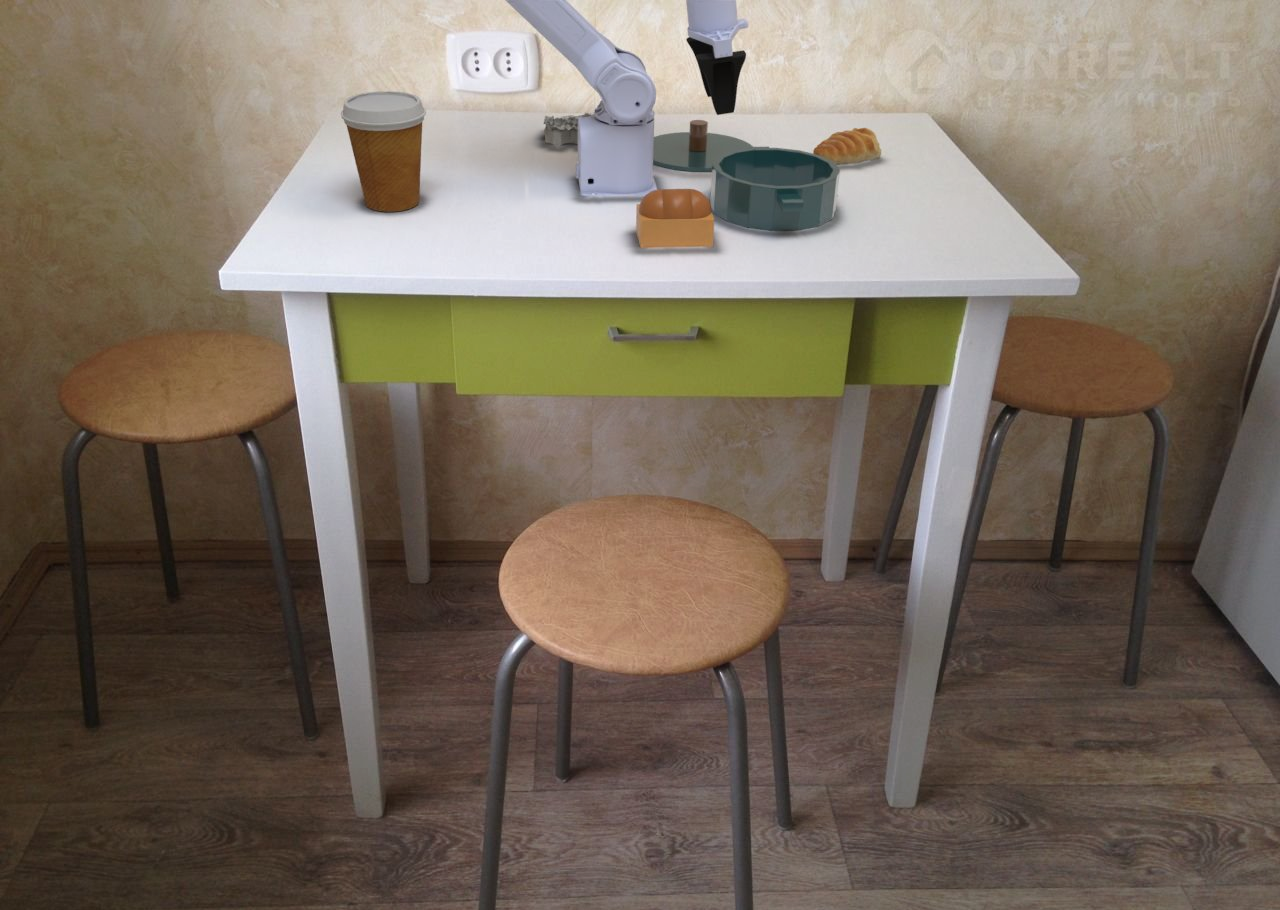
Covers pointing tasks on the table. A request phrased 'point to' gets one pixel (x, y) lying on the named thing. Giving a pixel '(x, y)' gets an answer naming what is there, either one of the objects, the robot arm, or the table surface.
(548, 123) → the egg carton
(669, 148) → the lid
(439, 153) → the table surface
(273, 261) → the table surface
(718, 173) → the pot
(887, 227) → the table surface
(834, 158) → the pastry
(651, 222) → the bread
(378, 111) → the disposable coffee cup
